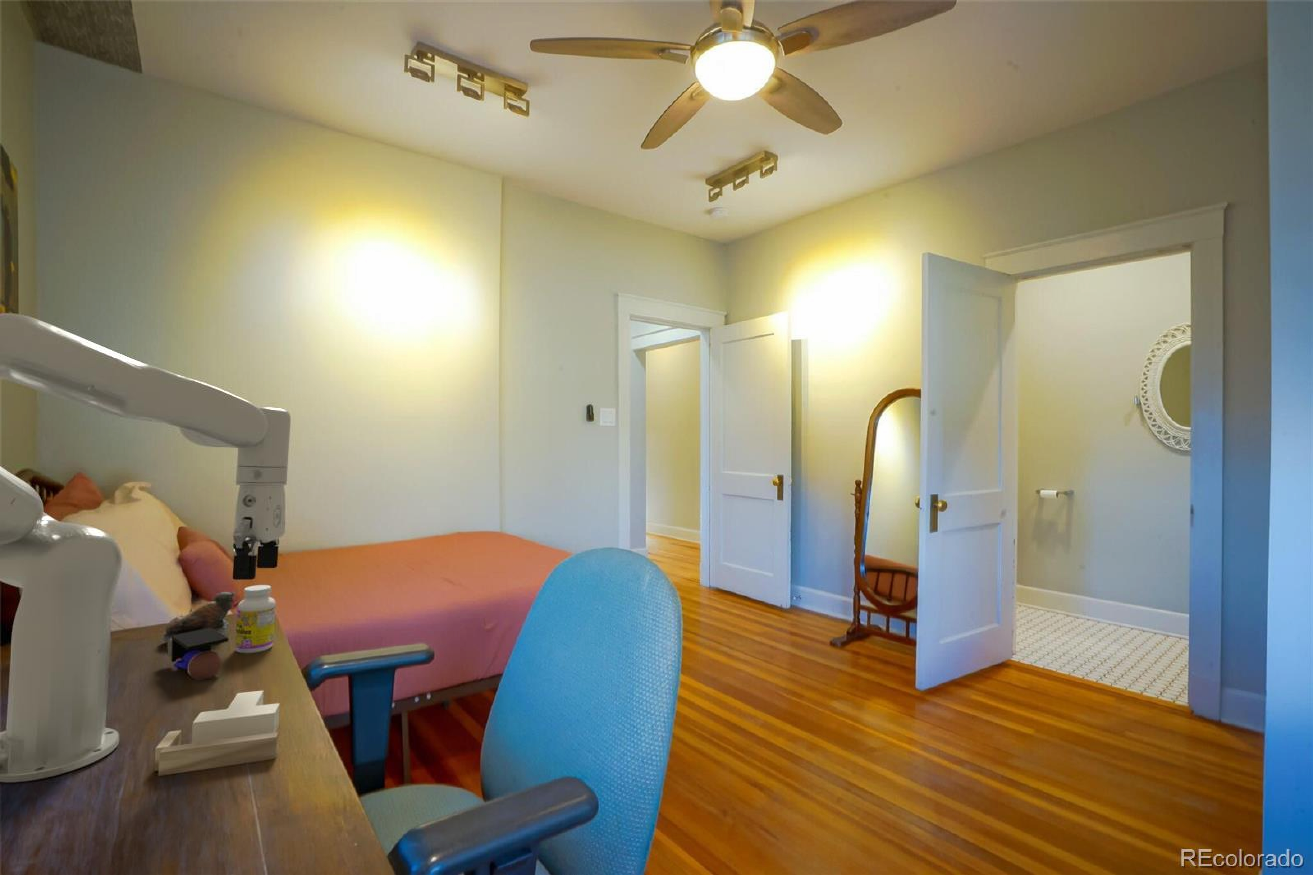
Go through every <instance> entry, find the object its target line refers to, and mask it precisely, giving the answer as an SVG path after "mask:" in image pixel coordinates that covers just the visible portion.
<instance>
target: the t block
mask: <svg viewBox="0 0 1313 875" xmlns="http://www.w3.org/2000/svg"><path fill="white" fill-rule="evenodd" d="M264 691H265V690H256V691H255V690H254V691H253V690H252V691H246V692H237V694H236V695H235V696H234V699H233V700H232V701H231V702H230V704H229V706H228V708H226V709H217V710H209V711H201V712H200V713H199V714H198V716H196V718H195V719H194V721H193V722H192V731H191V744H192V743H199V742H207V741H214V740H222V739H229V738H237V737H244V736H252V735H260V734H267V733H275V732H277V730H278V727H279V723H280V720H279V719H280V706H281V704H280V702H279V703H278V702H277V703H270V704H269V703H268V704H264V693H265V692H264Z"/></svg>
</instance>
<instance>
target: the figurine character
mask: <svg viewBox="0 0 1313 875" xmlns="http://www.w3.org/2000/svg"><path fill="white" fill-rule="evenodd" d="M227 642H229V637H227V635H222V634H220V633H219V632H217V631H215V630H213V629H212V628H207V629H202V630H197V631H192V632H187V633H182V634H178V635H173V636H172V638H171V639H169V640H168V642H167V653H168V656H169V657H170V658H171V663H173V667H174V668H180V669H181V668H182V669H184V670H186V669H187V673H188V674H189V676H190V677H191V678H193V679H195V680H199V681H200V680H201V681H202V680H203V681H204V680H208V679H210V678H211V679H212V678H213V677H214V676H215V675H217V674H218V673H219V672H220V670H221V669H222V667H223V662H224V660H223V657H222V655H221V654H220V653H219V652H217V651H214V650H212V646H214V645H219V644H222V643H227Z"/></svg>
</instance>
